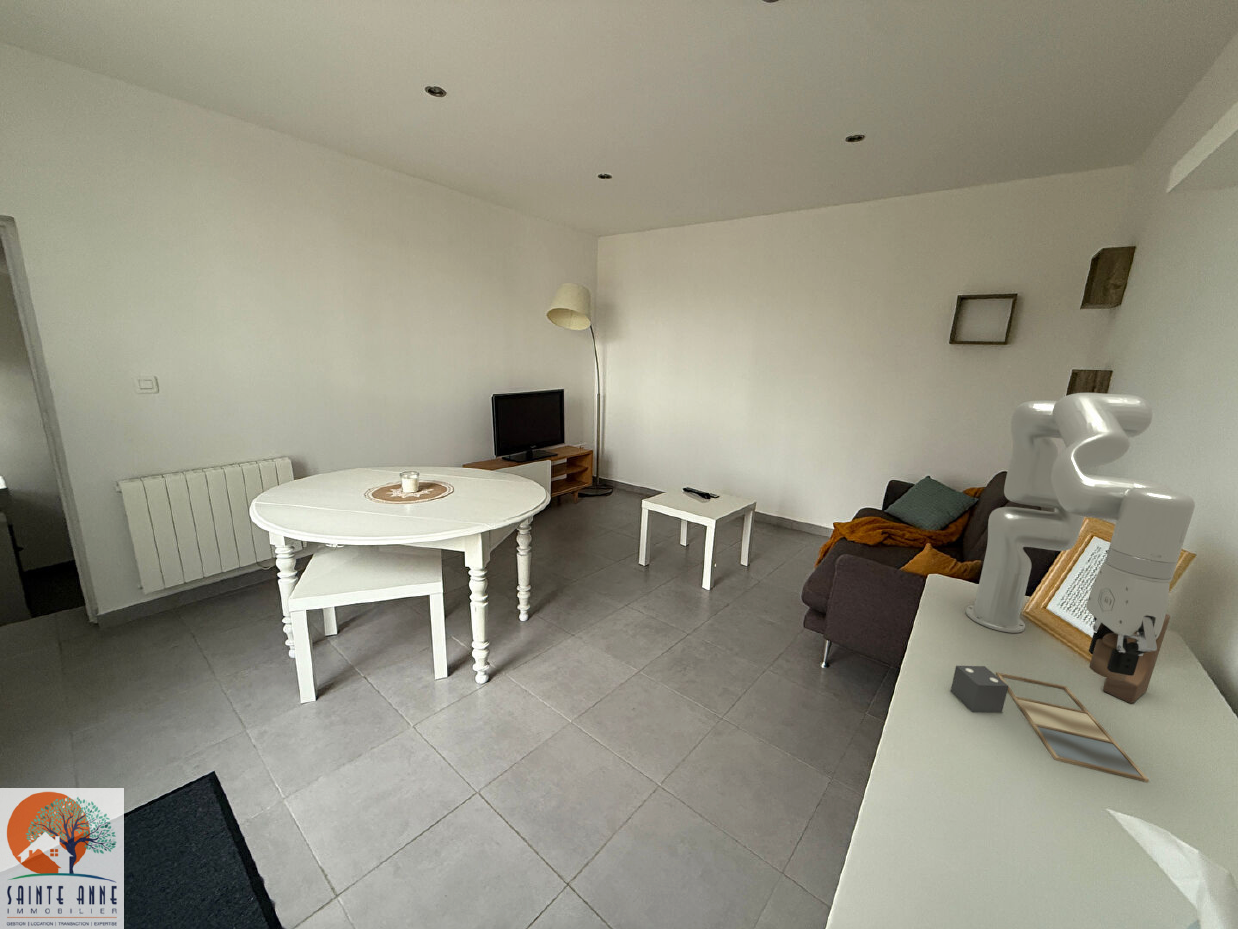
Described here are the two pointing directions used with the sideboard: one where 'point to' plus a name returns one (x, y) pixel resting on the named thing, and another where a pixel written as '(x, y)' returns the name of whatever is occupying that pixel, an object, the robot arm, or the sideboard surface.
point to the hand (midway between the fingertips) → (1110, 662)
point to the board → (1074, 734)
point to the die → (979, 689)
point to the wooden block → (1137, 673)
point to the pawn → (1105, 657)
